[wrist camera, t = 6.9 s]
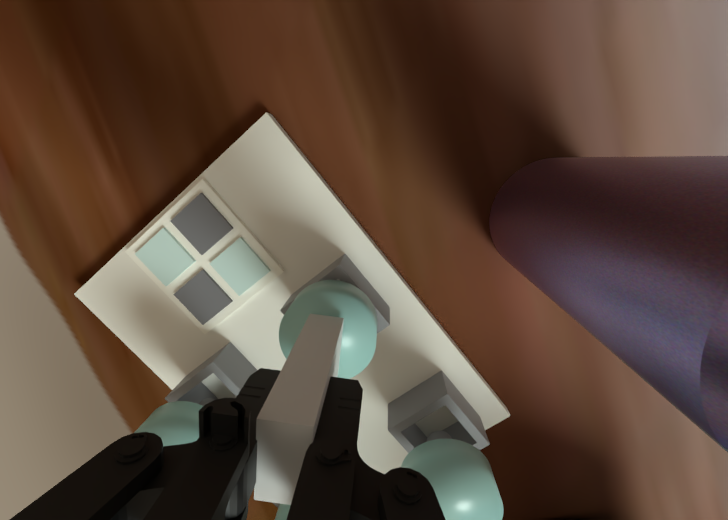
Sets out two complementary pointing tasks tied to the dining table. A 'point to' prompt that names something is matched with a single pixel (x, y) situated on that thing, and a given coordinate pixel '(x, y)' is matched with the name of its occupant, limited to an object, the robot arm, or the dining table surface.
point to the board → (281, 298)
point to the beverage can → (633, 264)
